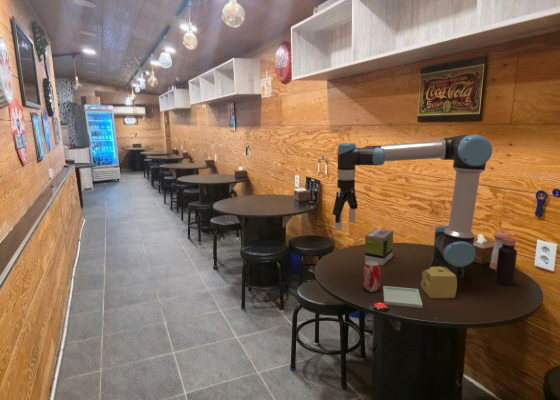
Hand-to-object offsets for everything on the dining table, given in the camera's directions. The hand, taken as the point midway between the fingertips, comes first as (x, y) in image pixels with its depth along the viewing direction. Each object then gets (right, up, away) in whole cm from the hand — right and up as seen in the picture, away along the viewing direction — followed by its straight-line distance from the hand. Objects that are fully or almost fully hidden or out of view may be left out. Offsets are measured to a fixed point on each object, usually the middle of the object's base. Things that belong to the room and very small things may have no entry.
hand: (345, 226), depth 158 cm
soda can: (+10, -27, -6) cm, 29 cm away
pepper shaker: (+77, -22, +14) cm, 81 cm away
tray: (+20, -28, -15) cm, 38 cm away
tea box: (+23, -20, +28) cm, 41 cm away
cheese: (+37, -27, -11) cm, 47 cm away
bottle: (+70, -25, -2) cm, 74 cm away
